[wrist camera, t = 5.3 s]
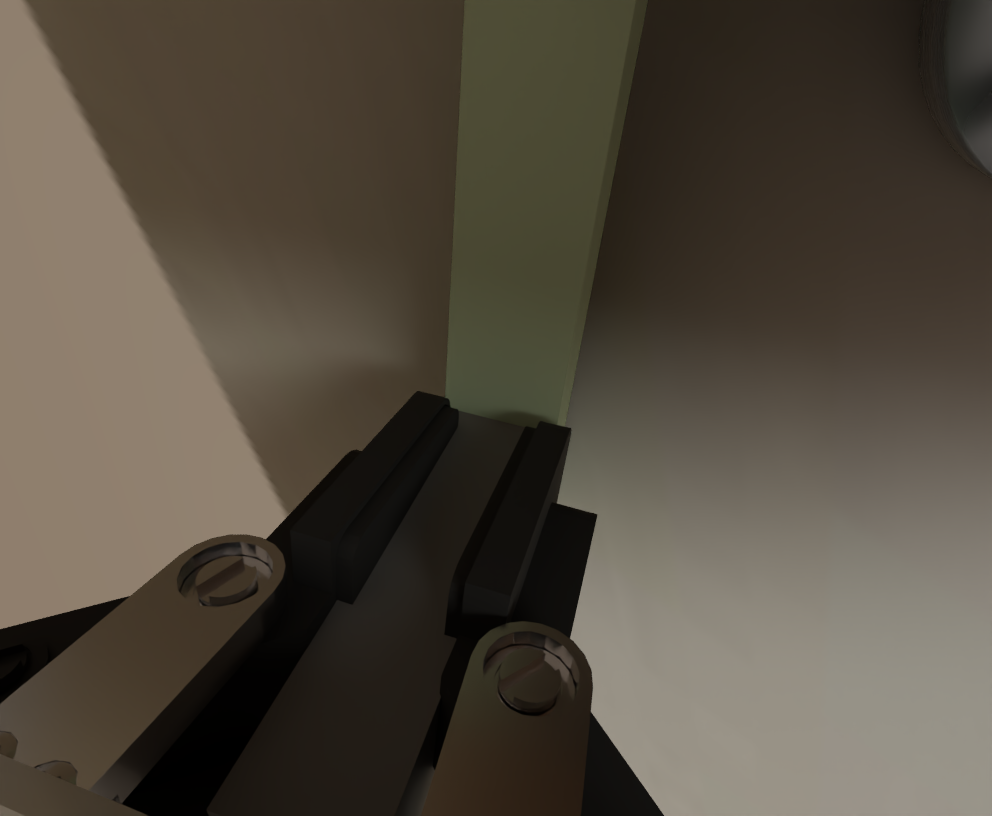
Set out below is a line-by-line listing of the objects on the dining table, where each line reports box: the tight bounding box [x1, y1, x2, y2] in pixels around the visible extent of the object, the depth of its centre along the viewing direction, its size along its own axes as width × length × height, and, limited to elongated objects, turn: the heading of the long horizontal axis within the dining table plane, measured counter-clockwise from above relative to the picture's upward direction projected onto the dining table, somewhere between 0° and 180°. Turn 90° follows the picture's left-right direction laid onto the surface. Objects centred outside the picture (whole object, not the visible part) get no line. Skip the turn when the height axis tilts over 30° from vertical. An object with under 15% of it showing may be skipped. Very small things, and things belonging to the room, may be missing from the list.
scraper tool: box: [207, 0, 648, 816], centre depth 7 cm, size 2×10×8 cm, turn 173°
